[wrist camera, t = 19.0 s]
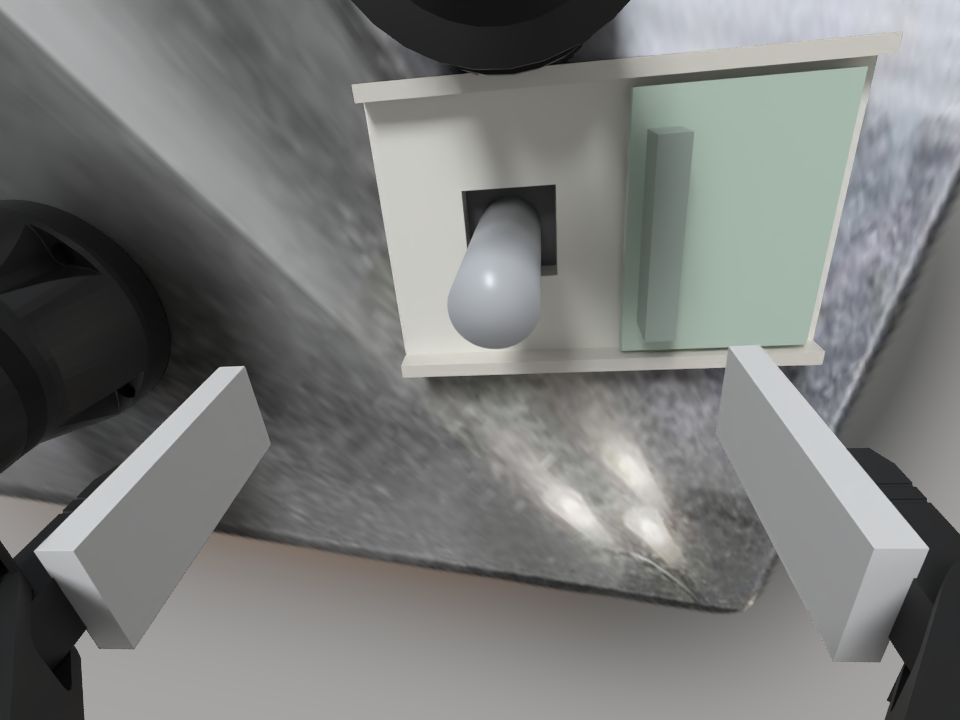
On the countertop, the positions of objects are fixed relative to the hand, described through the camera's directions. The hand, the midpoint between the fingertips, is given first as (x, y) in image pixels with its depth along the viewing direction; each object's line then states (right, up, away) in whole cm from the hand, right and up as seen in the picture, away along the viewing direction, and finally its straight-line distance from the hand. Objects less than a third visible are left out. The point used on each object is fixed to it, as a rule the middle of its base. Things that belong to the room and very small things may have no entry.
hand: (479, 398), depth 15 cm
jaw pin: (+2, +9, +16) cm, 19 cm away
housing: (+7, +9, +16) cm, 20 cm away
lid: (+13, +8, +13) cm, 20 cm away
